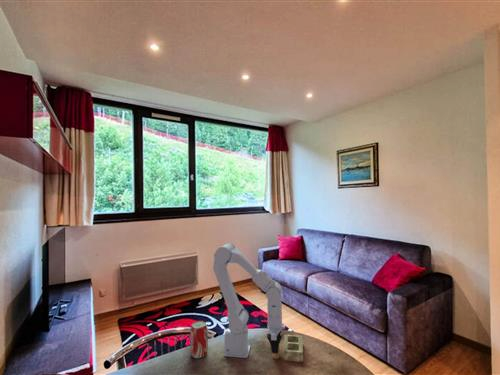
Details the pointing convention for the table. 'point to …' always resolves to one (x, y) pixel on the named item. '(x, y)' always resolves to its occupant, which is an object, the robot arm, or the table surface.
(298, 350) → the hole block
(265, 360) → the table surface
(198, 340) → the soda can
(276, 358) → the peg
